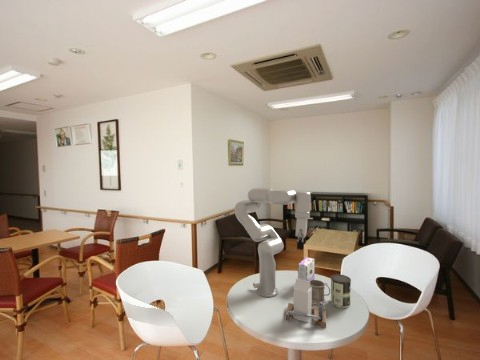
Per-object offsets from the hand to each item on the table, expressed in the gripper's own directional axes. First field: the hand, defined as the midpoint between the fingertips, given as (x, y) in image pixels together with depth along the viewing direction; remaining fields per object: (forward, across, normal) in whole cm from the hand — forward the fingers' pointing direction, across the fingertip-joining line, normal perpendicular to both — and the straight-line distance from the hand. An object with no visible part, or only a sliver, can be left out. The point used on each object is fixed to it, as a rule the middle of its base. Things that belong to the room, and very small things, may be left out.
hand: (301, 246), depth 136 cm
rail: (+33, +14, +4) cm, 36 cm away
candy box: (+34, -24, +1) cm, 41 cm away
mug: (+33, -8, +10) cm, 36 cm away
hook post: (+30, +14, +12) cm, 35 cm away
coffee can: (+33, -11, +21) cm, 41 cm away
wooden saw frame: (+33, +9, +5) cm, 34 cm away
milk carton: (+33, +9, +3) cm, 35 cm away
